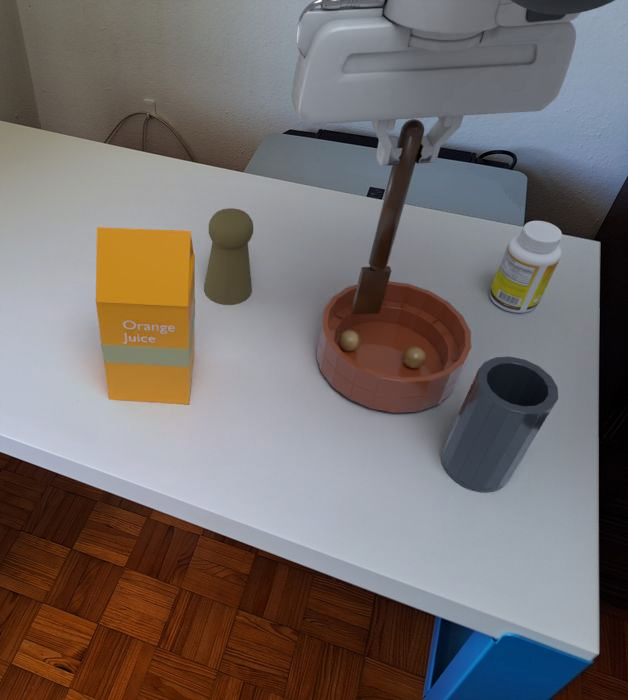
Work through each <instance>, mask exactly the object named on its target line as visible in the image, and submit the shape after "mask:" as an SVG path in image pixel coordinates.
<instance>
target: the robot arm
mask: <svg viewBox="0 0 628 700" xmlns="http://www.w3.org/2000/svg"><path fill="white" fill-rule="evenodd" d="M615 1H616V0H313V1H312V2H310V3H308V5H307V6H305V8H304V9H303V10H302V11H301V13H300V15H299V18H298V22H297V31H296V41H295V42H296V48H297V50H298V52H299V53H298V58H297V62H296V65H295V71H294V76H293V80H292V81H293V82H292V87H291V102H292V105H293V108H294V110H295V112H296V114H297V115H298V116H299V118H300V119H301V120H302V121H303V122H304V123H305V124H306V125H322V124H323V125H325V124H340V123H342V124H343V123H357V122H370V123H371V126H372V128H373V130H374V132H375V136H376V137H377V139H378V143H377V148H376V152H375V154H376V155H375V157H376V161H377V163H378V165H379V166H380V167H389V166H392V165H398V164H399V161H400V159H399V157H400V156H401V153H402V149H403V148H402V146H401V144H399V143H398V141H399V138H397V137H389V135H388V132H387V131H393V130H395V126H396V122H397V120H408V119H409V120H411V119H426V118H428V119H429V118H437V121H436V122H435V123H434V124H433V125H432V127H431V128H430V129H429V131H427V133H426V134H425V135H423V138H422V142H421V145H420V149H419V152H418V156H417V160H416V163H415V164H417V165H420V164H435V163H436V162H437V161H438V156H439V153H440V150H441V146H444V145H445V144H446V143H447V141H448V140H449V139H450V138H451V137H452V136H453V135H454V134H455V133H456V132H457V131H458V130H459V129H460V128H461V125H462V122H463V118H464V116H478V115H479V116H480V115H496V114H497V115H498V114H513V113H532V112H542V111H543V110H544V109H546V108H547V107H548V106H549V105H550V104H551V103H553V102H554V101H555V100H556V99H557V97H558V95H559V93H560V92H561V89H562V87H563V84H564V81H565V78H566V77H567V73H568V70H569V67H570V64H571V61H572V57H573V55H574V54H573V53H574V50H575V46H576V41H577V31H576V27H575V25H574V24H573V23H572V21H574V20H576V19H577V18H578V17H579V16H580V15H581V13H584V12H589V11H592V10H596V9H598V8H601V7H605V6H606V5H609V4H611V3H613V2H615Z"/></svg>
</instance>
